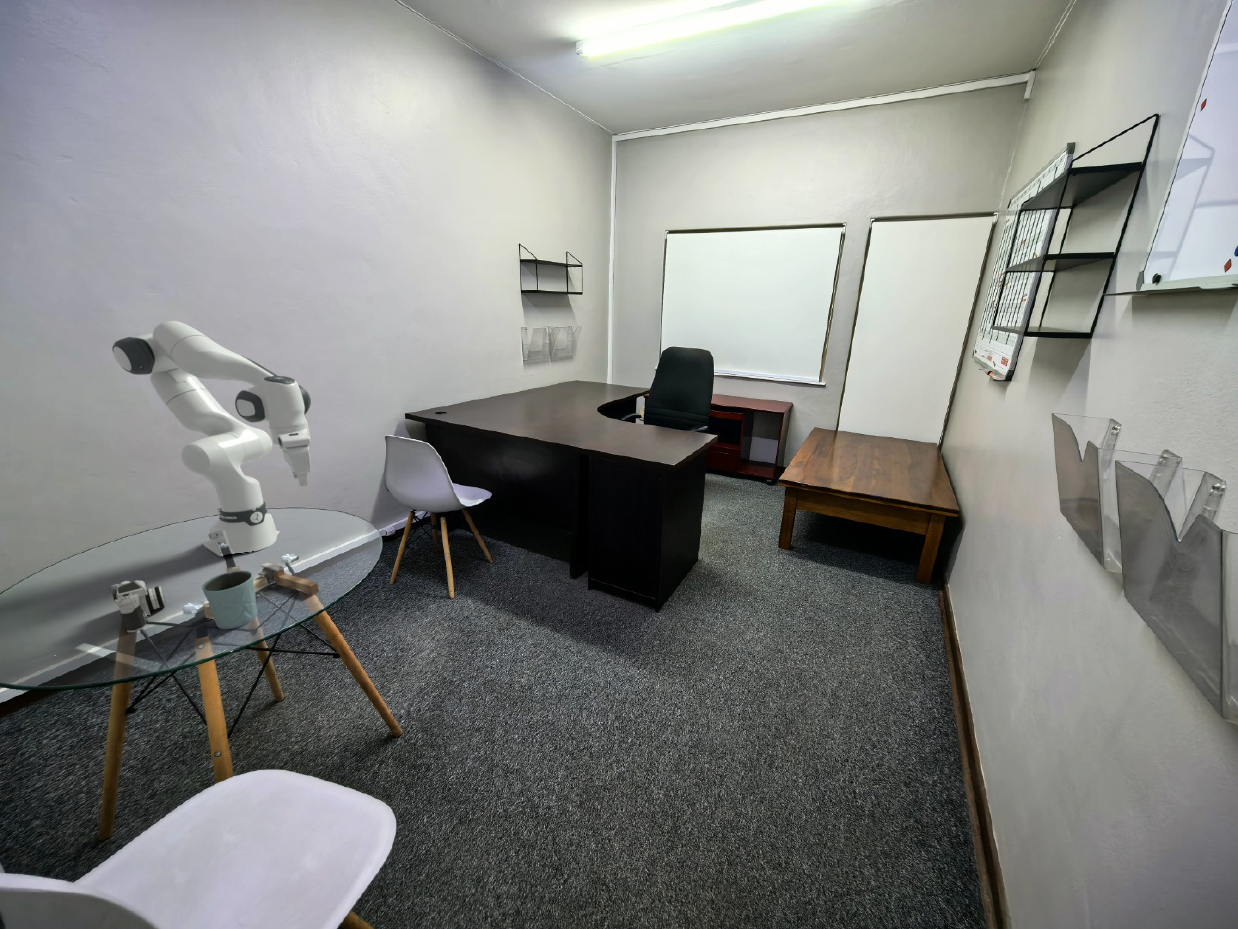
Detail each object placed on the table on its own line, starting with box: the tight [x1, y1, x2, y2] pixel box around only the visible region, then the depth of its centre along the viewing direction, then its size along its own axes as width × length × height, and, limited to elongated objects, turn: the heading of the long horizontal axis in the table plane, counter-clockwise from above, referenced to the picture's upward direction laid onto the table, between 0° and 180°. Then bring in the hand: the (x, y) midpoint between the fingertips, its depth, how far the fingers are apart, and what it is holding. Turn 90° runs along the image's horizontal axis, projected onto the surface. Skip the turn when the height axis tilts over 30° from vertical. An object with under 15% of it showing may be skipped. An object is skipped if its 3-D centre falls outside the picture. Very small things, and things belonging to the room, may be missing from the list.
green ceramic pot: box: [201, 569, 259, 630], centre depth 119 cm, size 10×10×12 cm
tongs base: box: [202, 567, 275, 620], centre depth 129 cm, size 20×4×6 cm, turn 166°
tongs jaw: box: [261, 562, 320, 597], centre depth 134 cm, size 20×2×6 cm, turn 70°
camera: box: [111, 580, 167, 633], centre depth 120 cm, size 16×9×10 cm, turn 48°
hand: (300, 481), depth 131 cm, fingers open, 8 cm apart
